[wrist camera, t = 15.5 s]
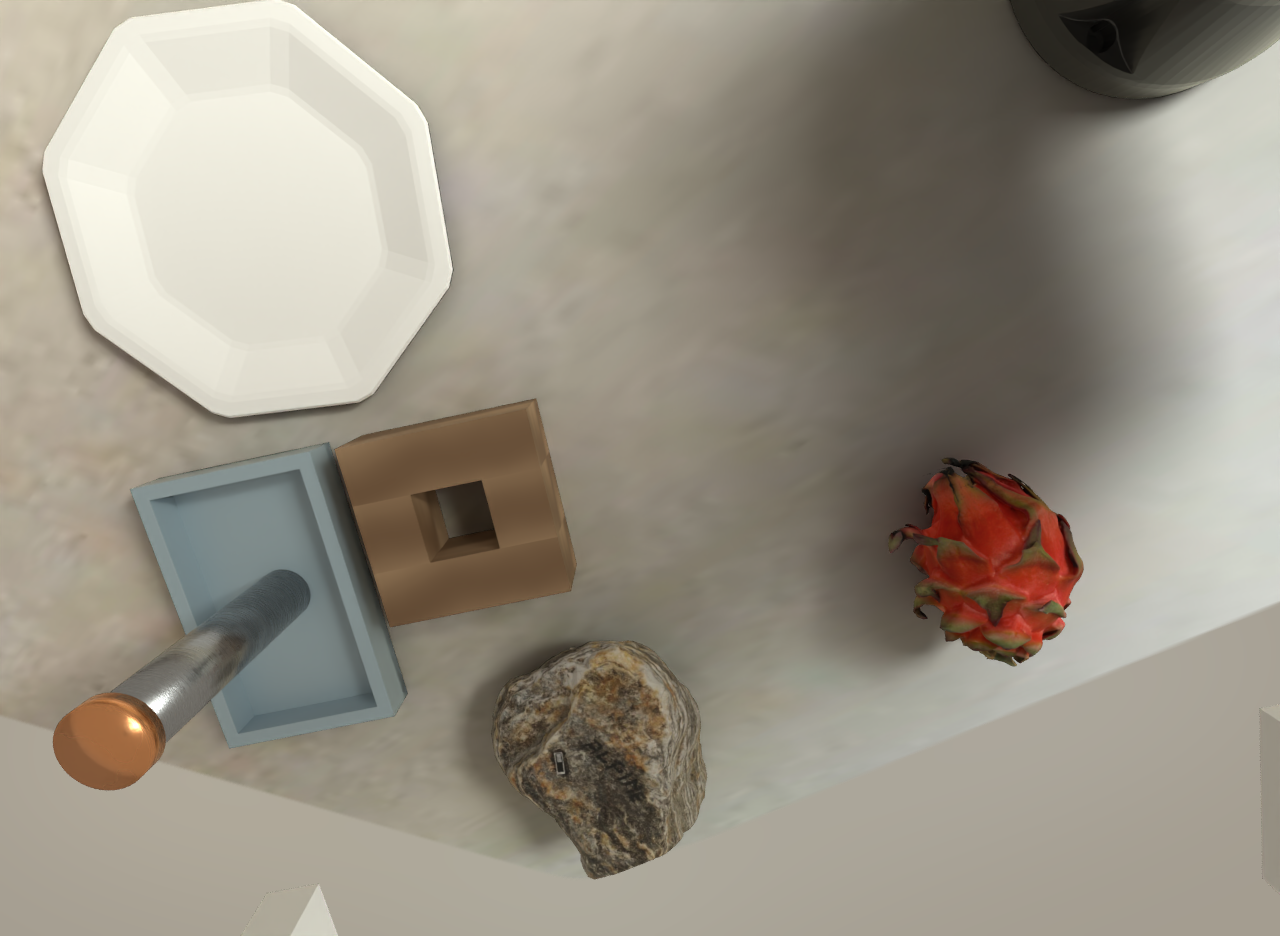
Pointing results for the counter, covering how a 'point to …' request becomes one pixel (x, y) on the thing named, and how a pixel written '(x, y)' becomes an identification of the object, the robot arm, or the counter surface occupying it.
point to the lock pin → (174, 686)
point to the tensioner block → (414, 526)
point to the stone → (605, 751)
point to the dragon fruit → (992, 562)
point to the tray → (253, 547)
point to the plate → (249, 208)
